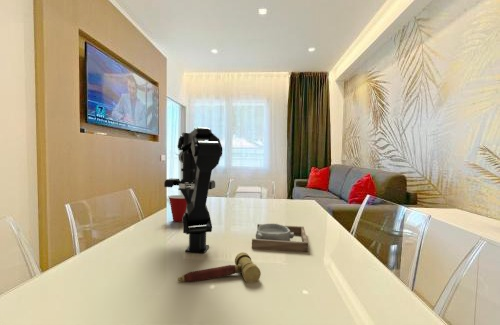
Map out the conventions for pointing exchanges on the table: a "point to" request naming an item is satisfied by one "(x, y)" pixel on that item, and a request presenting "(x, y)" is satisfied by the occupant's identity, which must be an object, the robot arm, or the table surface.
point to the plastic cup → (178, 207)
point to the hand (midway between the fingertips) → (189, 205)
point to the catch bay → (283, 242)
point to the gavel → (227, 271)
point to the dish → (274, 232)
